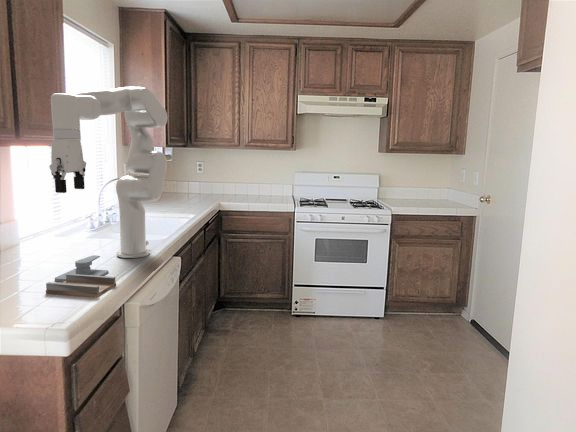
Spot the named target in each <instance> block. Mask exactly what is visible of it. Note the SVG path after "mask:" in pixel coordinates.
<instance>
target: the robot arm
mask: <svg viewBox="0 0 576 432" xmlns="http://www.w3.org/2000/svg"><path fill="white" fill-rule="evenodd" d="M50 106H51V107H50V108H51V122H52V137H53V139H52V141H51V142H52V143H51V154H50V155H51V157H50V158H51V162H50V163H51V164H49V166H48V167H49V169H50V172H51V175H52V178H53V180H54V186H55V187H54V188H55V193H57V194H58V193H59V194H66V193H67V192H68V191H67V179H65V177H66V175H67V174H69V173H73V174H74V176H73V187H74V189H75V190H85V187H86V186H85V175H86V173H85V172H86V170H87V169H86V167H87V162H86V161H84V155H83V146H82V142H81V141H82V137H81V122H80V120H81V121H82V120H84V121H85V120H86V121H88V120H89V121H90V120H96V119H98V118H100V116H110V115H115V114H120V113H124V119H125V123H126V125H127V128H128V130H129V132H130V136H131V138H130V139H131V141H130V145H129V150H128V154H127V158H126V163H125V165H126V166H125V167H126V170H127V172H128V173H130V174H134V175H125V176H121V177H120V178H119V179H118V180H117V181H116V184H115V189H116V190H115V191H116V195H117V199H118V206H119V207H118V209H119V237H120V239H119V241H120V250H118V251H117V252H116V256H117V257H119V258H123V259H138V258H143V257H147V256H149V255H150V254H151V250H150V249H147V246H148V245H149V243H150V242H149V241H148V240H146V236H147V235H146V210H145V206H144V204H142V202H143V201H144V202H156V201H159V199H160V198H161V196H162V194H163V190H164V185H165V181H166V176H167V171H168V159H167V157H166V155H165V154H164V153H163V152H161V151H159V150H153V147H154V140H153V138H152V135H151V134H150V132H149V131H148V130H147V129H148V128H153V129H155V128H156V129H159V128H163V127H165V126H166V125H167V123H168V114H167V110H166V109H165V106H164V105H163V104H162V103H161V101H160V100H159V99H158V98H157V96H156V95H155V94H154V93H153V92H152V90H150V89H149V88H147V87H143V86H124V87H123V86H122V87H117V88H109V89H103V90H93V91H86V92H79V93H77V92H76V93H62V92H61V93H59V92H58V93H52V95H50ZM141 175H143V176H141Z"/></svg>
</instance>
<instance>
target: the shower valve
mask: <svg viewBox="0 0 576 432" xmlns="http://www.w3.org/2000/svg"><path fill="white" fill-rule="evenodd" d="M99 258H101V256H100V255H90V256H88V257H84V258H81V259H78V260H76V261H75V262H74V264H75V265H74V266H75V268H73V269H71V270H69V271H67V272H64V273H63V274H60V275H58V276H55V277H54V282H57V283H62V282H65V281H66V274H80V275H94V276H106V275H108V274H109V270H108V269H96V268H95V269H94V268H92V267H91V266H92V265H93V261H95V260H97V259H99Z"/></svg>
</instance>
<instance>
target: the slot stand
mask: <svg viewBox="0 0 576 432" xmlns="http://www.w3.org/2000/svg"><path fill="white" fill-rule="evenodd" d="M115 286H117V281H116V277H115V276H106V275H104V276H94V275H80V274H66V281H65V282H51V281H49V282H48V281H47V282H46V283H45V287H46V290H45V294H47V295H59V296H74V297H84V298H85V297H86V298H99V296H102V295H103V294H105V293H107V292H108V291H109V290H110V289H112V288H115Z"/></svg>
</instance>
